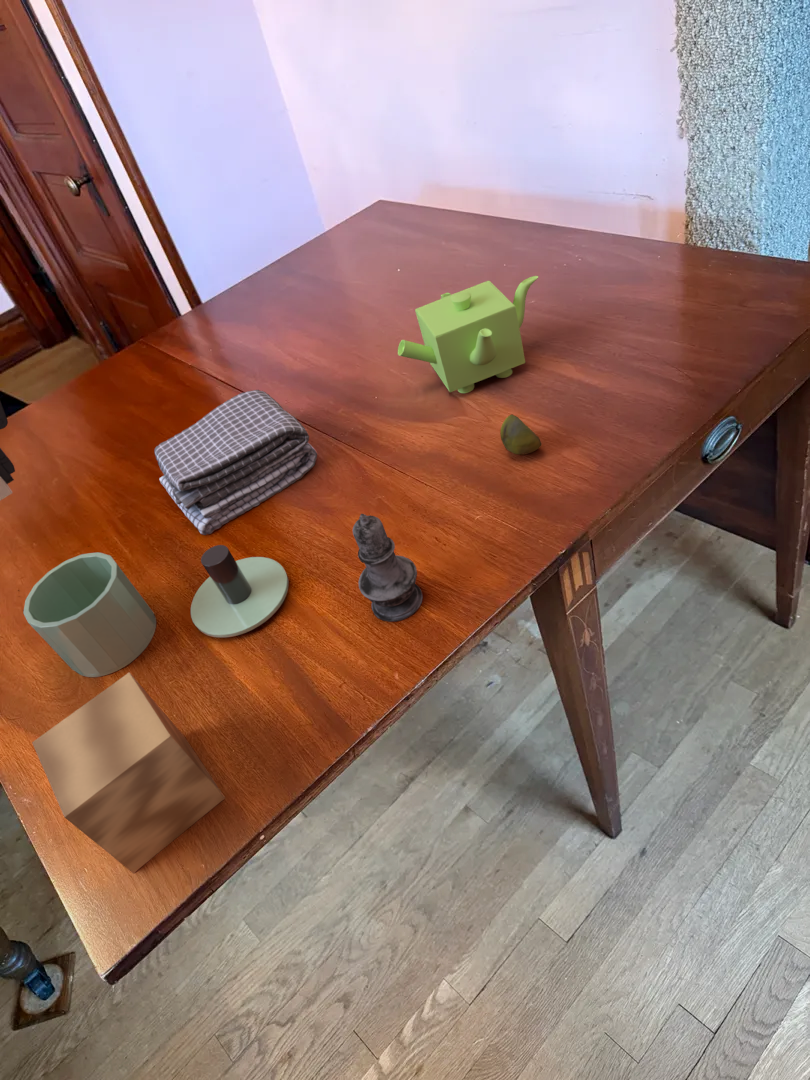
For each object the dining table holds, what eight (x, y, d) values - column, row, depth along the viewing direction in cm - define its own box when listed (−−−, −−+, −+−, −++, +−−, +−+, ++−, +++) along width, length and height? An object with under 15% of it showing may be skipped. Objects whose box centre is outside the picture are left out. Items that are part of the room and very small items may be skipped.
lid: (222, 659, 75) (190, 614, 70) (179, 606, 83) (147, 563, 78) (309, 594, 79) (284, 547, 74) (260, 549, 86) (235, 504, 81)
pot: (87, 694, 77) (38, 643, 71) (59, 644, 83) (13, 594, 78) (170, 634, 80) (130, 581, 74) (136, 590, 87) (98, 539, 81)
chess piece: (436, 587, 74) (405, 498, 67) (406, 631, 71) (370, 543, 63) (388, 573, 78) (353, 487, 70) (357, 615, 75) (317, 529, 67)
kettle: (549, 343, 101) (537, 265, 94) (512, 406, 93) (496, 326, 86) (450, 341, 109) (432, 269, 101) (408, 399, 101) (385, 325, 93)
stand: (133, 873, 61) (64, 817, 54) (97, 800, 67) (31, 742, 60) (225, 797, 63) (170, 735, 57) (183, 734, 70) (129, 671, 63)
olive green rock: (509, 438, 89) (502, 404, 85) (549, 440, 86) (543, 404, 83) (498, 463, 86) (490, 428, 83) (539, 465, 84) (532, 429, 80)
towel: (327, 466, 94) (305, 416, 89) (198, 542, 90) (168, 494, 85) (280, 421, 105) (258, 374, 100) (163, 487, 101) (134, 441, 96)
